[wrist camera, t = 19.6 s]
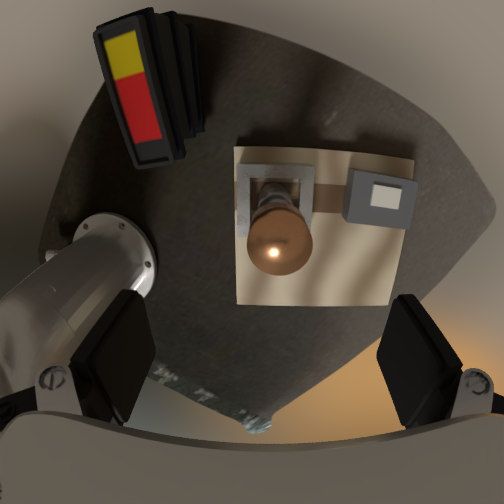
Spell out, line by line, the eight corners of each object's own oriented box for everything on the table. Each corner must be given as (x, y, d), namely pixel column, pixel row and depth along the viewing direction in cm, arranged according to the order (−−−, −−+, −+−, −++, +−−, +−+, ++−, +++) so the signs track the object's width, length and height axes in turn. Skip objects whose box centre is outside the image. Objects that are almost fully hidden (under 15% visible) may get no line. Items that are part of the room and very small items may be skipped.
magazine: (195, 6, 19) (141, 7, 10) (213, 112, 29) (186, 187, 20) (160, 14, 20) (86, 29, 10) (182, 116, 30) (140, 193, 20)
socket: (239, 228, 30) (237, 237, 27) (239, 161, 27) (236, 164, 25) (306, 230, 29) (309, 239, 27) (310, 163, 26) (314, 166, 24)
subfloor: (237, 299, 35) (237, 304, 34) (235, 146, 27) (234, 146, 26) (385, 300, 34) (387, 305, 33) (410, 159, 26) (414, 160, 25)
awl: (254, 214, 29) (246, 275, 17) (254, 177, 27) (246, 213, 16) (292, 215, 29) (310, 276, 17) (293, 178, 27) (315, 215, 15)
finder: (339, 213, 28) (347, 223, 25) (346, 166, 26) (355, 170, 23) (397, 221, 28) (410, 231, 25) (406, 177, 26) (420, 182, 23)
